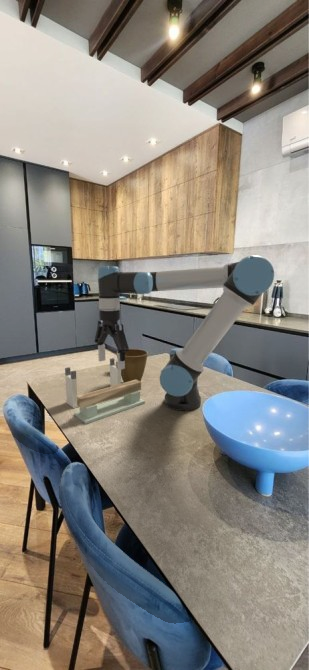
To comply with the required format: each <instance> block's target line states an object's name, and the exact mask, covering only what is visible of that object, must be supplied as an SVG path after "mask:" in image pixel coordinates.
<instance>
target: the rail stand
mask: <svg viewBox="0 0 309 670" xmlns="http://www.w3.org/2000/svg"><path fill="white" fill-rule="evenodd" d="M64 374H65V393H66V399H65V403H66V404H67V405H68V406H70V407H71V408H72V409H76V408H80V407H79V406H78V405H77V396H78V389H77V388H78V383H77V371H76V370H72V371H71V367H69V366H68V367H65V368H64ZM109 378H110V379H109V383H110V384H109V385H110V386H109V387H111V386H115V385H118V384H122V377H121V370H118V365H117V361H116V362H115V358H114V357H113V358H109Z"/></svg>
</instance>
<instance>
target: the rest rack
mask: <svg viewBox="0 0 309 670" xmlns="http://www.w3.org/2000/svg"><path fill="white" fill-rule="evenodd" d="M144 404H146V400H145V399H143V398H141V390H139V391H135V392H132V393H129V394H126V395H123V396H120V397H117V398H114V399H110V400H107V401H104V402H101V403H98V404H94V405H91V406H88V407H85V408H80V407H79V410H77V411H74V413H73V414H74V416H75V417H77V419H79V420H80V421H81V422H83V424H85V425H87V424H90V423H94V422H96V421H99V420H101V419H104V418H107V417H109V416H113V415H115V414H117V413H122V412H124V411H127V410H129V409H132V408H135V407H138V406H141V405H144Z"/></svg>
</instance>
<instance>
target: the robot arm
mask: <svg viewBox="0 0 309 670" xmlns="http://www.w3.org/2000/svg"><path fill="white" fill-rule="evenodd" d="M274 278H275V270H274V266H273V264H272V263H271V262H270V261H269V260H268V259H267V258H265V257H263V256H261V255H255V254H253V255H247V256H245V257H244V258H242V259H240V260H239V261H235V262H230V263H226V264H225V265H224V266H217V267H215V266H214V267H203V268H200V267H199V268H190V269H178V270H162V271H161V270H160V271H147V272H145V271H126V272H125V271H123V272H122V271H120V268H119V267H118V266H114V265H112V266H109V265H108V266H106V265H105V266H100V267H98V270H97V285H98V309H99V320H98V321H97V328H96V333H95V335H94V336H95V337H94V343H96V345H97V351H98V354H97V355H98V362H104V361H107V360H106V359H107V358H106V339H108V338H107V337H108V336H110V337H111V338H112V340H113V342H114V344H115V347H116V348H117V352H116V353H117V354H116V360H117V365H118V370H121V369H125V352H126V351H129V349H130V348H129V344H128V341H127V338H126V334H125V330H124V325H123V323H122V324H119V323H118V322H119V320H121V310H120V308H121V307H120V306H121V304H120V302H121V301H120V297H121V296H120V294H130V295H131V294H133V295H145V294H146V295H148V294H151V292H152V293H153V292H167V291H168V292H169V291H186V290H187V291H188V290H203V289H204V290H207V289H223V292H222V293H221V295H220V296H219V298H218V300H217V301H216V302H215V304H214V305H213V307H212V308H211V309H210V311H209V312H208V313H207V315H206V316H205V317H204V319H203V320H202V322H201V323H200V325H199V326H198V327H197V329H196V330H195V331H194V333H193V335H192V336H191V337H190V338H189V340H188V341H187V343H186V344H185V346H184V347H180V348H179V347H177V348H172V349H170V351H169V361H168V362H167V364H165V366H164V367H163V368H162V370H161V371H160V375H159V384H160V386H161V388H162V389H163V390H164V392H165V394H164V400H163V401H164V404H165V406H167V407H168V408H170V409H173V410H177V411H193V410H195V409H196V410H197V409H198V408H200V406H201V405H202V398H201V395H200V391H199V387H198V380H199V379H198V378H199V377H200V375H202V373H203V371H204V370H205V369H204V363H205V362H206V361H207V359H208V358H209V357H210V355H211V354H212V353H213V351H214V349H216V347H217V346H218V344H219V343H220V342H221V340H222V339H223V338H224V336H225V335H226V334H227V333H228V331H229V330H230V328H232V327H233V325H234V323H235V322H236V321H237V319H239V317H240V316H241V314H243V313H242V312H244V310H245V309H246V308H249V307H252V306H254V305H255V303H256V302H257V301H258V300H259V299H260V297H261V296H262V294H264V293H265V292H267V291H268V290H269V289H270V287H271V286H272V285H273V282H274Z"/></svg>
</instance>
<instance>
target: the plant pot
mask: <svg viewBox="0 0 309 670" xmlns="http://www.w3.org/2000/svg"><path fill="white" fill-rule="evenodd" d="M115 353H116V355H117V352H115ZM148 354H149V353H148V351H147V350H144V349H141V348H138V349H137V348H129V351H126V352H125V369H121V380H122V383H125V382H129V381H132V380H138V381H140V382H141V383H142V378H143V376H144V373H145V370H146V365H147V360H148Z"/></svg>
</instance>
